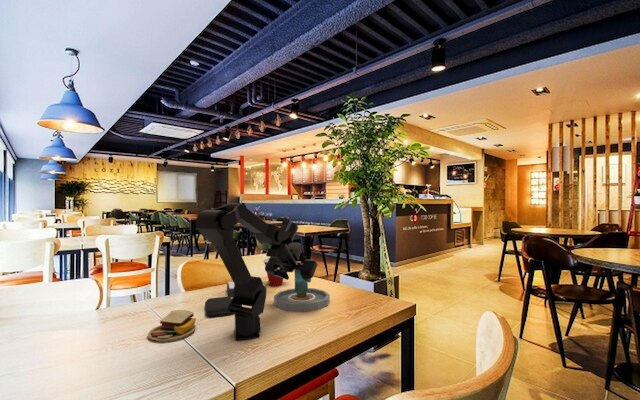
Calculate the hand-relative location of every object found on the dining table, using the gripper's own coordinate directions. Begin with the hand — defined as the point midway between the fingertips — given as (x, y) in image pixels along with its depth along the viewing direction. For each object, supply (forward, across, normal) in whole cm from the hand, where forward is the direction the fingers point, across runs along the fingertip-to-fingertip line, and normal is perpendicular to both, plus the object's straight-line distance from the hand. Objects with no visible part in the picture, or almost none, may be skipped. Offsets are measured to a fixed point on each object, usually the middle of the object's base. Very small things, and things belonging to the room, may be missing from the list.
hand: (299, 280), depth 118 cm
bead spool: (+7, 0, +4) cm, 8 cm away
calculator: (+9, +28, +4) cm, 29 cm away
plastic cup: (+19, +23, -7) cm, 30 cm away
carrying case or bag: (-5, +22, +18) cm, 29 cm away
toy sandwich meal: (-20, +21, +33) cm, 44 cm away
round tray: (+8, 0, +5) cm, 9 cm away
